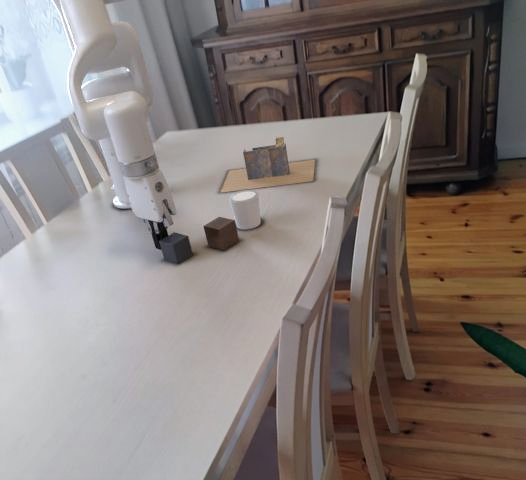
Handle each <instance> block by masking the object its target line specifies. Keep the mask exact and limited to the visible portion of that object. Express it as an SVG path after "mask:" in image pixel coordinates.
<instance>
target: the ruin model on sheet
mask: <svg viewBox="0 0 526 480" xmlns="http://www.w3.org/2000/svg"><path fill="white" fill-rule="evenodd" d="M286 143H287V142H286ZM286 143H285V136H284V135H283V136H279V137H277V136H275V144H271V145H266V146H265V145H263V146H257V147H252V148H251V150H247V151H246V148H244V149H243V151H242V154H243V161H244V165H245V168H239V169H232V170H229V171H228V173H227V175H226V178H225V180H224V183H223V184H222V187H221V189H220V193H228V192H229V193H230V192H238V191H245V190H253V189H260V188H269V187H277V186H285V185H294V184H300V183H301V184H303V183H309V182H314V178H315V177H314V175H315V167H316V166H315V165H316V159H310V160H309V159H308V160H302V161H294V162H289V157H288V150H287V144H286Z"/></svg>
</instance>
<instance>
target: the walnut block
mask: <svg viewBox="0 0 526 480" xmlns="http://www.w3.org/2000/svg"><path fill="white" fill-rule="evenodd" d="M203 230H204V235H205V239H206V242H207V246H208V247H209V248H213V249H217V250H221V251H225V250H227V249H229V248H231V247H233V245H235V244H237V243H238V242H239V241H240V238H239V233H238V227H237V224H236V221H235V219H231V218H226V217H223V216H218V217H215V218H214V219H213V220H211V221H210V222H208V223H206V224H204V225H203Z"/></svg>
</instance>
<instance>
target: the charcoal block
mask: <svg viewBox="0 0 526 480" xmlns="http://www.w3.org/2000/svg"><path fill="white" fill-rule="evenodd" d="M168 235H169V236H167V237H165V238H164V239H162V240H160V241H159V243H160V246H161V250H160V251H161V253H162V256H163V259H164V261H167V262H169V263H173V264H175V265H176V264H177V265H179V264H180V263H182V262H184V261H185V260H187V259H188V258H190V257H192V256H193V255H194V252H193V249H192V245H191V242H190V238H189V235H186V234H183V233H180V232H172V233H170V234H168Z"/></svg>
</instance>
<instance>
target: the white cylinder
mask: <svg viewBox="0 0 526 480" xmlns="http://www.w3.org/2000/svg"><path fill="white" fill-rule="evenodd" d="M228 201H229V205H230V208H231V211H232V215H233V217H234V218H233V219H234V220H235V223H236V228H237V229H238V230H252V229H255V228H257V227H258V226H260V225H261V223H262V222H261V221H262V220H261V210H260V197H259V192H258V191H257V190H253V189H245V190H239V191H236V192H234V193H233V194H231V195H230V196H229V197H228Z"/></svg>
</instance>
